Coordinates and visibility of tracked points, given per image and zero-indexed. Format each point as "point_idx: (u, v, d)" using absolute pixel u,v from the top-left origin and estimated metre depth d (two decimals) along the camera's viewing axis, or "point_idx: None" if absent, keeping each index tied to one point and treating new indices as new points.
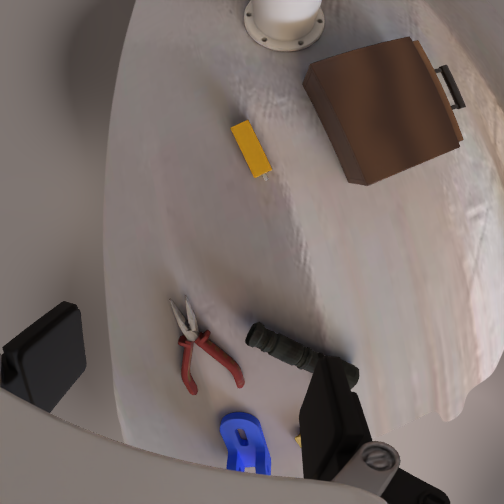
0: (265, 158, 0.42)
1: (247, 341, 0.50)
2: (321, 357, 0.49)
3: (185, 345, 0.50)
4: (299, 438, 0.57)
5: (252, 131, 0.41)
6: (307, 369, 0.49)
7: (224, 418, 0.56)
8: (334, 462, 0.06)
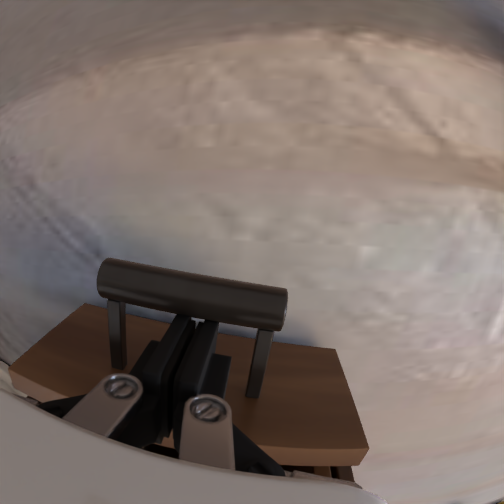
0: None
1: None
2: None
3: None
4: None
5: None
6: None
7: None
8: None
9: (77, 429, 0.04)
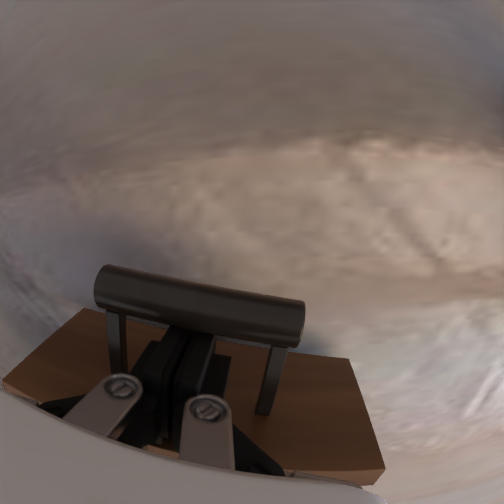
0: None
1: None
2: None
3: None
4: None
5: None
6: None
7: None
8: None
9: (77, 429, 0.04)
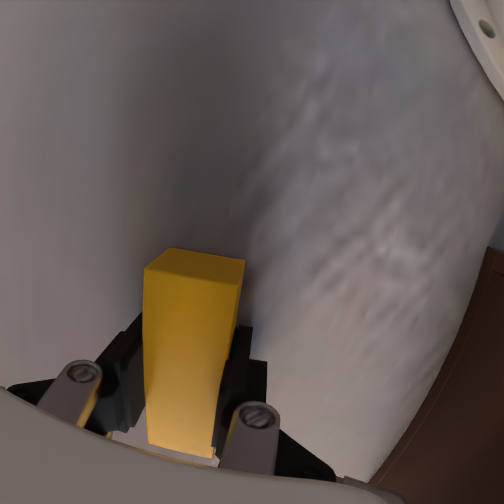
0: (210, 432, 0.10)
1: None
2: None
3: None
4: None
5: (223, 341, 0.09)
6: None
7: None
8: (221, 417, 0.08)
9: (77, 429, 0.04)
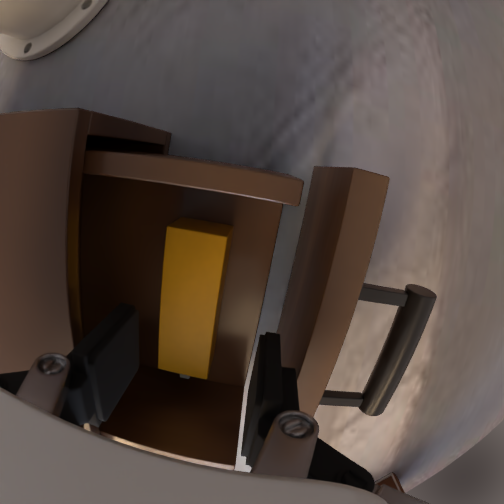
0: (206, 352, 0.15)
1: None
2: None
3: None
4: None
5: (217, 275, 0.14)
6: None
7: None
8: (257, 427, 0.07)
9: (77, 429, 0.04)
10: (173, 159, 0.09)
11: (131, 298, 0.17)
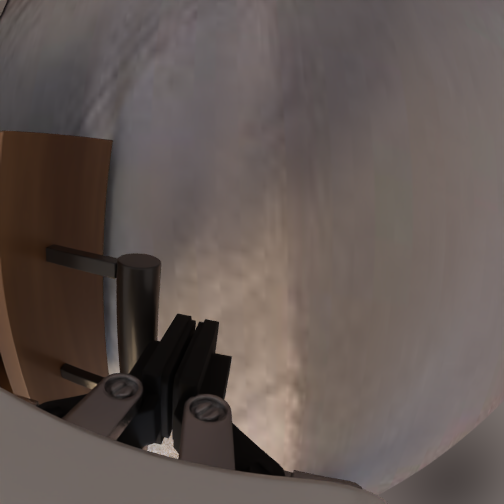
0: None
1: None
2: None
3: None
4: None
5: None
6: None
7: None
8: None
9: (77, 429, 0.04)
10: None
11: None
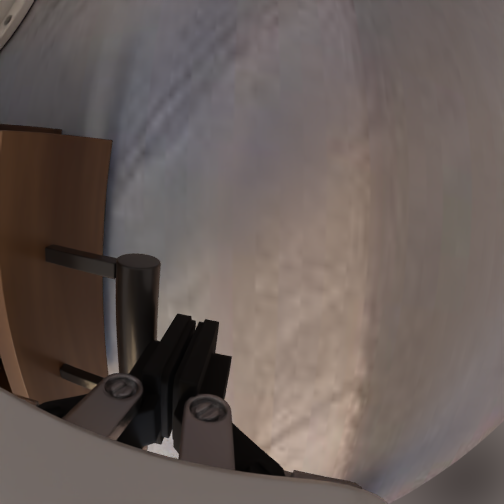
0: None
1: None
2: None
3: None
4: None
5: None
6: None
7: None
8: None
9: (77, 429, 0.04)
10: None
11: None
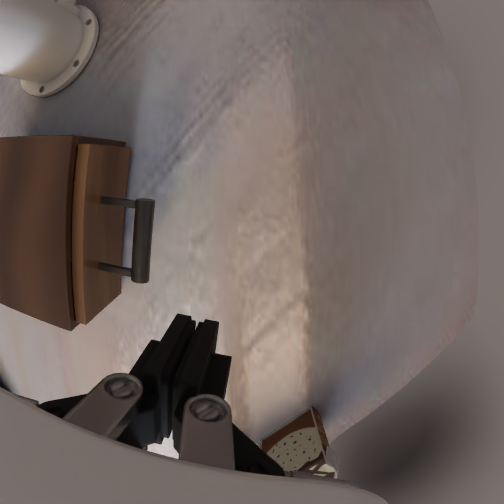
0: None
1: None
2: None
3: None
4: None
5: None
6: None
7: None
8: None
9: (77, 429, 0.04)
10: None
11: None
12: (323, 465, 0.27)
